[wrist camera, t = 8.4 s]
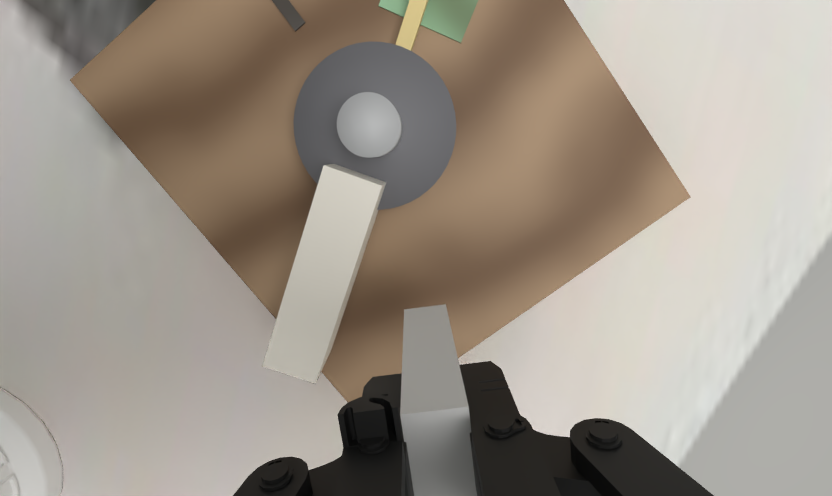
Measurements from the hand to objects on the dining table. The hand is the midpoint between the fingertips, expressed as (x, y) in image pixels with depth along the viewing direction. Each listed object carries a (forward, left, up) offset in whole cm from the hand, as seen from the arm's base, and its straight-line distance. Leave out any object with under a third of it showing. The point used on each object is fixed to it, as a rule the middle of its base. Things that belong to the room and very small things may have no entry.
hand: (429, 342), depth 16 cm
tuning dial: (-8, +3, -7) cm, 10 cm away
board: (-7, +3, -9) cm, 12 cm away
